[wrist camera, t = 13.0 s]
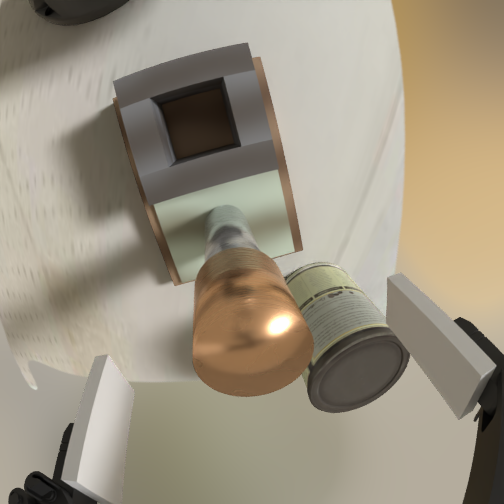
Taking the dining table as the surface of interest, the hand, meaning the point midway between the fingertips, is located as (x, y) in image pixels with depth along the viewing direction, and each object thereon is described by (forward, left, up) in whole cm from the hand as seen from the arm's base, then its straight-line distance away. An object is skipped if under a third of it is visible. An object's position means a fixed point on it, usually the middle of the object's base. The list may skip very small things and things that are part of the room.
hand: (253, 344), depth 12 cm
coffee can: (+13, +8, -20) cm, 25 cm away
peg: (0, 0, -17) cm, 17 cm away
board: (-5, 0, -20) cm, 20 cm away
